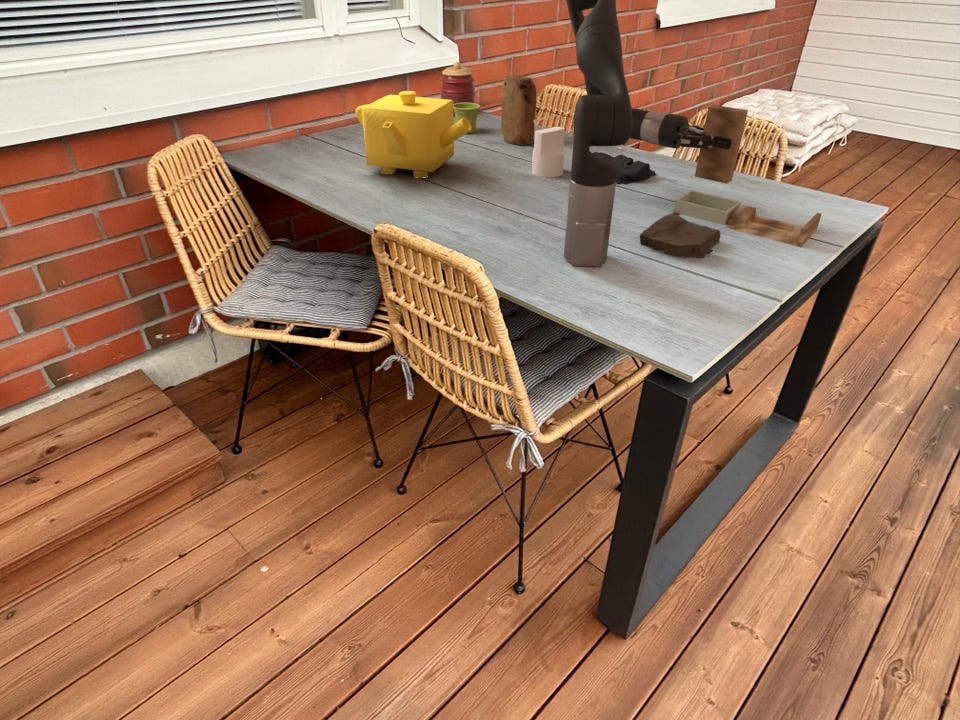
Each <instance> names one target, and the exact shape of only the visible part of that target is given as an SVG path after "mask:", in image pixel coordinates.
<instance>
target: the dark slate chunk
mask: <svg viewBox="0 0 960 720" xmlns="http://www.w3.org/2000/svg"><path fill="white" fill-rule="evenodd" d="M592 153H593V154H594V155H596V156H598V157H600V158H602V159H605V160H607V161H610V162H612V163H613V164H614V165H615V166H616V167H617V180H616V185H625V186H626V185H627V186H628V185H629V184H632V183H633V184H634V183H641V182H643V181H647V180H649V179H650V178H652V177H653V176H655V175H657V174H656V171H655V170H652V169H651V166H650V163H646V162H643V161H640V160H636V161H634V159H633V158H632V157H628V156H626V155H624V154H618V155H615V156H613V155H611V154H607V153H605V152H601V151H593V152H592Z"/></svg>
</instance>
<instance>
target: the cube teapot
mask: <svg viewBox="0 0 960 720" xmlns="http://www.w3.org/2000/svg"><path fill="white" fill-rule="evenodd" d="M355 116H356V119H357V120H358V121H359V123H360V124H361V125H362V127H363V137H364V148H365V149H364V150H365V159H366V165H367V166H376V167H381V168H382V170H381V171H380V174H382V173H384V174H383V175H385V174H390V175H392V174H391V173H394V174H395V173H396V172H397V170H399V169H400V170H410V171H412V172H413V173H412V174H413V177H414V178H415V177H418V178H423V177H427V176H428V175H429V173H434V172H435V171H436V170H437V169H439V168H441V167H442V166H443V164H445V163H446V162H447V161H448V160H450V159H451V158H452V157H453V156H454V155H455V141H457V140H459V139H460V138H461V137H462V136H464V135H467V134H466V133H467V132H469V131H470V130H471V129H472V128H471V125H470V123H469V121H468V120H467V119H466V118H462V119H460V120H459V121H458V122H456V121H455V123H454V116H453V100H447V99H441V98H436V97H435V98H434V97H423V96H422V97H421V96H417V92H415V91H413V90H404V91H400V92H399V93H398V94H388V95H385V96H383V97H382V98H379V99H377V100H376V101H373V102H371V103H369V104H363V105H362V104H361V105H359V106H357V108H356V109H355ZM441 165H442V166H441ZM440 166H441V167H440ZM418 178H417V179H418ZM427 178H428V177H427ZM423 179H424V178H423Z"/></svg>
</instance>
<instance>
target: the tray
mask: <svg viewBox="0 0 960 720" xmlns="http://www.w3.org/2000/svg"><path fill="white" fill-rule="evenodd" d="M741 205H742V201H739V200H734V199H729V198H726V197H721V196H717V195H712V194H709V193H704V192H701V191H695V190H692V189H691V190H689V191H687V192H686V193H684V194H683V195H682V196H679V197H678V198H676V199H675V200H674V206H673V207H674V208H673V211H672V214H676V215H679V216H681V215H684V216H688V217H691V218H695V219H696V218H697V219H699V220H704V221H708V222H712V223H715V224H720V225H724V226H726V225H727V224H728V221H729V220H730V216H731V215H732V214H733V213H734V212H736V211H737V210H738V209H739V208H741V207H742V206H741Z"/></svg>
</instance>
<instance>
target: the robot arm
mask: <svg viewBox="0 0 960 720" xmlns="http://www.w3.org/2000/svg"><path fill="white" fill-rule="evenodd" d="M565 3H566V6H567V10H568V15H569V19H570V23H571V28H572V32H573V34H574V39H575V51H576V62H577V66H578V68H579V70H580V72H581V73H582V74H583V78H584V84H585V90H586V94H584V95H580V96H579V97H578V98H577V101H576V104H575V106H574V114H573V131H572V133H573V135H572V136H573V138H572V140H573V141H572V155H571V157H572V158H571V167H570V168H571V169H570V179H569V181H570V182H569V191H568V201H567V213H566V215H567V216H566V222H565V223H566V224H565V225H566V226H565V236H564V237H565V239H564V250H563V257H564V259H565V260H566V261H567V262H569V263H570V264H571V265H572V266H574V267H596V268H597V267H602V264H604V263H605V262H606V261H607V258H608V249H609V243H610V242H609V241H610V234H611V224H612V218H613V209H614V203H615V202H614V201H615V195H616V187H617V184H616V180H617V167H616V166H615V165H614V164H613V163H612V162H610V161H607V160H605V159H602V158H600V157H598V156H596V155H594V154H593V152H591V151H590V148H591V147H618V146H623V145H625V144H626V143H627V142H628V141H629V139H632V140H636V141H642V142H645V143H648V144H651V145H654V146H655V145H656V146H661V147H666V148H671V149H675V150H677V149H679V148H681V147H682V148H692V149H693V148H694V149H700V148H703V149H706V148H707V147H710V148H711V147H718V148H723V149H729V148H730V147H731V143H732V140H731V139H728V138H722V137H717V136H716V137H715V136H714V135H709V134H707V132H705V131H704V127H705V123H704V124H703V125H700V124H693V125H690V124H689V119H688V118H687V116H686V115H680V114H676V113H669V112H663V111H651V110H645V109H640V108H632V104H631V100H630V94H629V90H628V86H627V82H626V77H625V72H624V71H625V70H624V60H623V46H622V40H621V39H622V38H621V33H620V27H619V21H618V20H619V19H618V15H617V0H565ZM590 9H591V10H590ZM586 10H590V12H589V13H588V14H587V16H586V17H585V16H584V11H586Z"/></svg>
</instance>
